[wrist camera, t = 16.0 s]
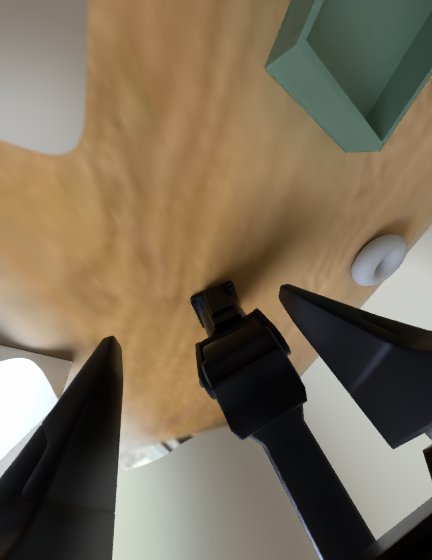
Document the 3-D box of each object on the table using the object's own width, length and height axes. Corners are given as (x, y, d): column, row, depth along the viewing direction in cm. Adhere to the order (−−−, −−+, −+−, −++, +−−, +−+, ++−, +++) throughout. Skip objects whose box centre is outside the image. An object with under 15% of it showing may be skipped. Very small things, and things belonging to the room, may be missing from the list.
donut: (351, 244, 31) (342, 288, 36) (371, 252, 28) (358, 298, 34) (398, 222, 32) (382, 268, 38) (422, 228, 29) (401, 276, 35)
